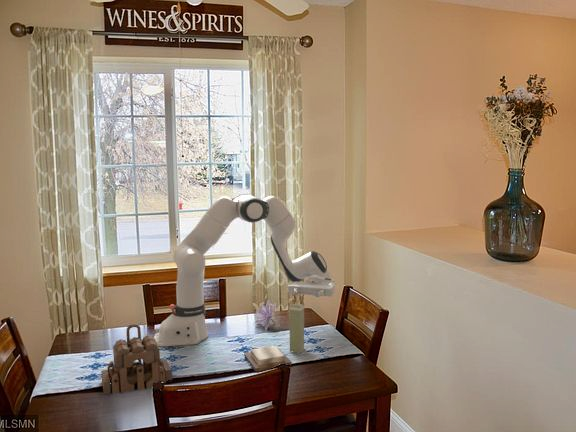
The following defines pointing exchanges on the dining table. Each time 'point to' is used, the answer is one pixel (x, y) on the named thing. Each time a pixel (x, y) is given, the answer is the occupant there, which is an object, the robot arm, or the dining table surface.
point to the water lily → (265, 315)
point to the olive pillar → (296, 327)
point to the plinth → (266, 366)
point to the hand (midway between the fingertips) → (306, 294)
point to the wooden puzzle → (135, 365)
